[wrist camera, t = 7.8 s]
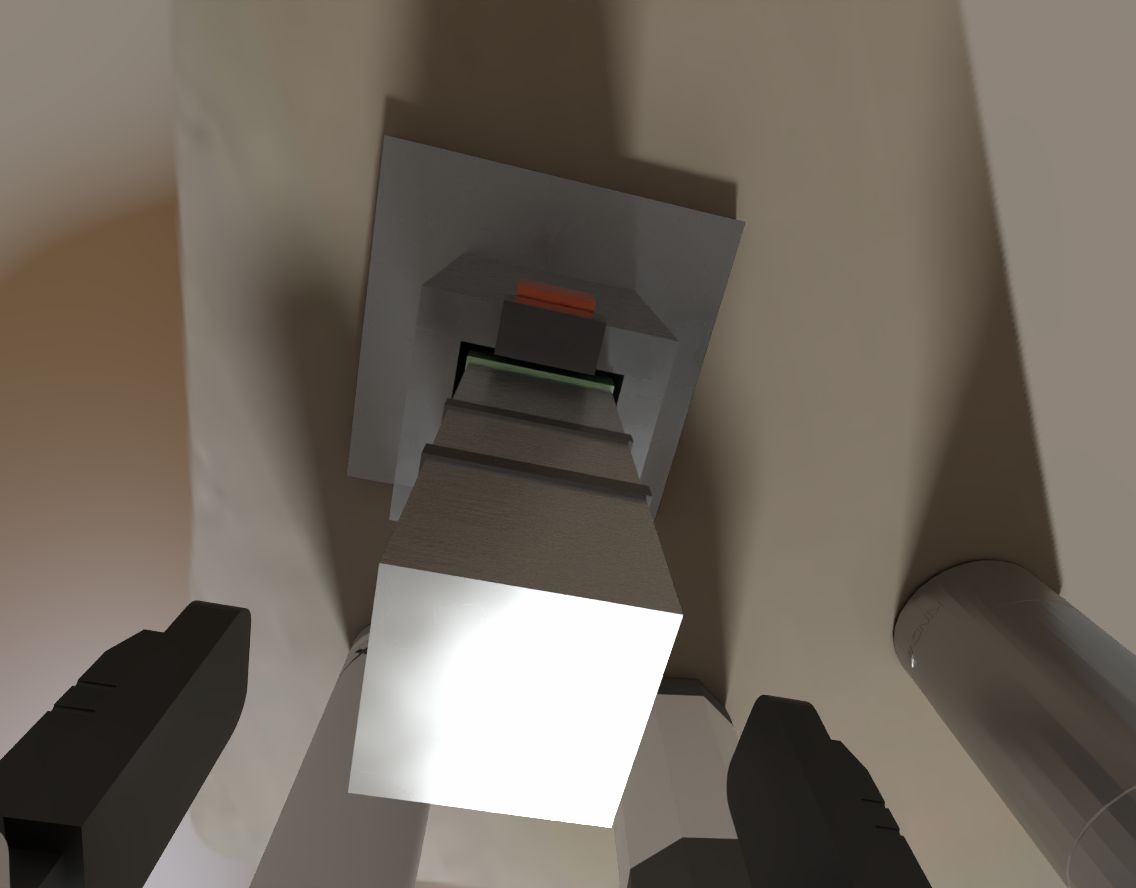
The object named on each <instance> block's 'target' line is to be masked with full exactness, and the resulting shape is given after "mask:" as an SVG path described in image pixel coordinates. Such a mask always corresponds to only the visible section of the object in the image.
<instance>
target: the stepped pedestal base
mask: <svg viewBox="0 0 1136 888" xmlns="http://www.w3.org/2000/svg"><path fill="white" fill-rule="evenodd" d="M744 225H745V222H743V221H739V220H735V219H731V218H727V217H722V216H718V215H714V214H710V213H706V212H702V211H698V210H694V209H689V208H685V207H681V206H677V205H673V204H669V203H665V202H660V201H656V200H652V199H648V198H644V197H640V196H636V195H632V194H627V193H623V192H619V191H615V190H611V189H607V188H603V187H598V186H594V185H590V184H586V183H582V182H578V181H574V180H569V179H565V178H561V177H557V176H553V175H549V174H545V173H541V172H536V171H532V170H528V169H524V168H520V167H516V166H512V165H507V164H503V163H499V162H495V161H491V160H487V159H483V158H478V157H474V156H470V155H466V154H462V153H458V152H454V151H450V150H445V149H441V148H437V147H433V146H429V145H425V144H421V143H416V142H412V141H408V140H404V139H400V138H396V137H392V136H388V135H384V141H383V150H382V159H381V168H380V177H379V186H378V195H377V204H376V214H375V223H374V232H373V241H372V250H371V259H370V268H369V277H368V286H367V295H366V304H365V314H364V323H363V332H362V341H361V350H360V359H359V368H358V377H357V386H356V395H355V404H354V414H353V423H352V432H351V441H350V450H349V459H348V468H347V476H350V477H355V478H361V479H366V480H372V481H377V482H382V483H388V484H393V485H394V487H393V494H392V501H391V509H390V516H389V520H393V521H398V520H399V518H400V516H401V513H402V511H403V509H404V507H405V504H406V502H407V500H408V498H409V495H410V493H411V491H412V489H413V486H414V484H415V482H416V480H417V477H418V473H419V466H420V459H421V453H422V451H423V449H424V446H425V444H426V443H428V444H433V442H434V439H435V437H436V435H437V433H438V430H439V428H440V426H441V422H442V416H443V410H444V404H445V402H446V400H447V398H451V399H453V397H454V395H455V392H456V390H457V388H458V386H459V383H460V381H461V379H462V377H463V374H464V372H465V367H466V361H467V355H468V353H469V351H470V349H471V348H473V349H475V347H476V345H477V344H478V345H483V346H488V347H492V348H495V352H494V355H499V356H504V357H509V358H513V359H518V360H523V361H528V362H533V363H537V364H542V365H547V366H552V367H556V368H561V369H566V370H571V371H576V372H580V373H585V374H590V375H594V374H595V370H596V369H597V370H602V371H605V373H606V376H607V377H611V378H612V380H613V383H614V386H615V387H614V390H613V394H612V395H613V398H614V401H615V404H616V407H617V410H618V413H619V416H620V419H621V423H622V426H623V429H624V432H625V434H630V435H631V436H632V438H633V441H634V443H633V446H632V450H631V454H632V457H633V460H634V463H635V466H636V469H637V472H638V475H639V479H640V482H641V485H647V486H649V488H650V491H651V494H652V496H653V497H652V500H651V504H650V507H649V510H650V513H651V516H652V519H653V522H654V521H655V517H656V514H657V511H658V508H659V504H660V501H661V498H662V494H663V491H664V488H665V485H666V481H667V478H668V475H669V471H670V468H671V465H672V462H673V458H674V455H675V452H676V448H677V445H678V442H679V439H680V435H681V432H682V429H683V425H684V422H685V419H686V416H687V412H688V409H689V406H690V402H691V399H692V396H693V393H694V389H695V386H696V383H697V379H698V376H699V373H700V370H701V366H702V363H703V360H704V356H705V353H706V350H707V347H708V343H709V340H710V337H711V333H712V330H713V327H714V324H715V320H716V317H717V314H718V310H719V307H720V304H721V301H722V297H723V294H724V291H725V288H726V284H727V281H728V278H729V274H730V271H731V268H732V265H733V261H734V258H735V255H736V251H737V248H738V245H739V242H740V238H741V235H742V232H743V228H744Z"/></svg>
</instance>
